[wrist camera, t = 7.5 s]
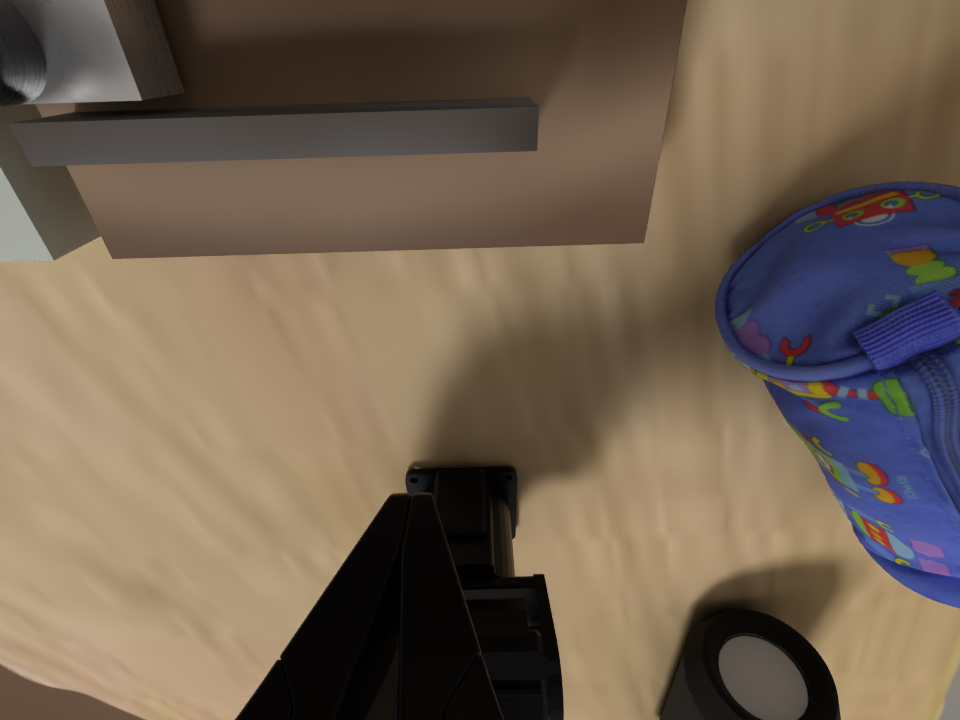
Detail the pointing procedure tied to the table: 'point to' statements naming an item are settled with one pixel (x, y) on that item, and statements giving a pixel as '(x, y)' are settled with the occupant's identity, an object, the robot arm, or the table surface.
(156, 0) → the door board
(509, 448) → the table surface
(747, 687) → the portable speaker
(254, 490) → the table surface
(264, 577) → the table surface
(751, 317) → the pencil case
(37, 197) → the block
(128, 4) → the lock bolt
